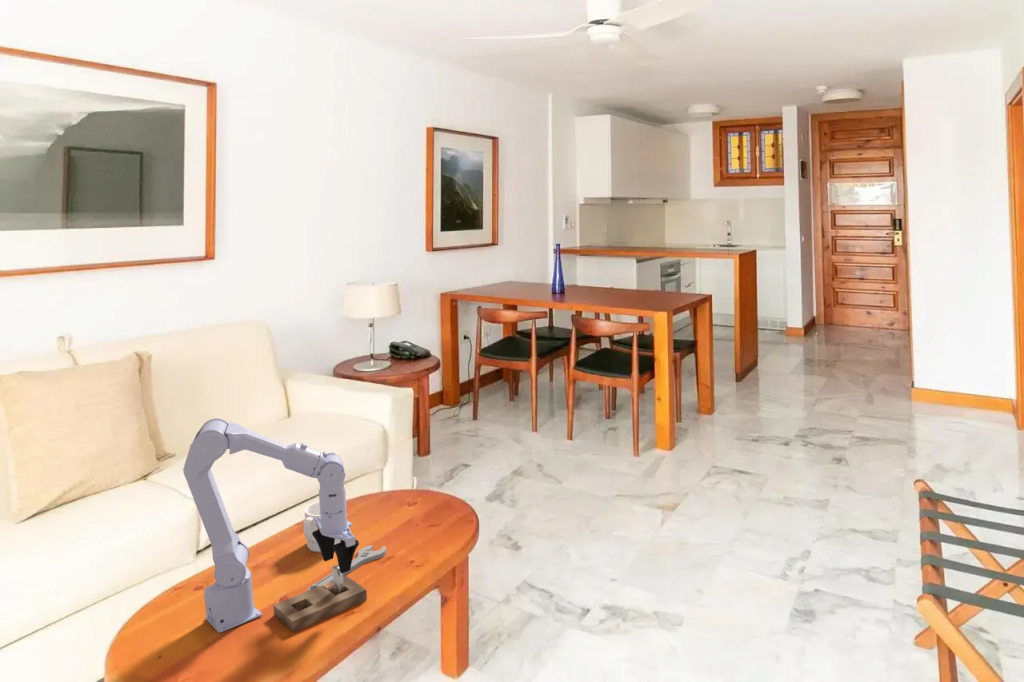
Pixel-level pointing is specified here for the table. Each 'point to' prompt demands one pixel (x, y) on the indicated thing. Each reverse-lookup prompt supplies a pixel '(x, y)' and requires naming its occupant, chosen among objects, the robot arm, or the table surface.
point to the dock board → (318, 604)
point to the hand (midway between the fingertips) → (336, 565)
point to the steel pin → (337, 580)
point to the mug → (312, 526)
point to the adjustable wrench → (355, 563)
